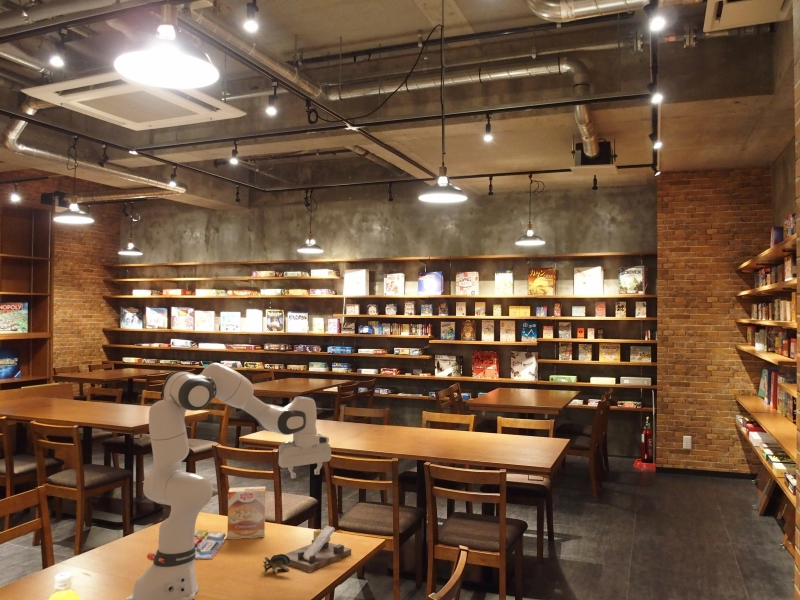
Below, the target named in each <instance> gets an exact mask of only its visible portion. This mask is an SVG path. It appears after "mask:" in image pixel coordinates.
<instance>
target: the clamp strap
mask: <svg viewBox="0 0 800 600" xmlns="http://www.w3.org/2000/svg"><path fill="white" fill-rule="evenodd" d="M335 530H336V529H335V527H333V526H329V525H325V526H324V528H323V529H321V533H320V534H319V535H318V537H317V538H316V539H315V541H314V542H313V543H312V542H311V543H310V544H311V546H310V547H309V548H308V549H307V551H306V552H305V553H304V554H303V556H302V559H303V560H306V561H309V556H311V555H316V554H317V553H318V552H319V550H320V549H321V548H322V546H323V545H324V544H325V542H326V541H327V540H328V539H329V537H330V538H331V536H332V535H333V533H334V532H335Z"/></svg>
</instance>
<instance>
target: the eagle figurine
mask: <svg viewBox="0 0 800 600" xmlns="http://www.w3.org/2000/svg"><path fill="white" fill-rule="evenodd" d="M262 562H263V563H264V564H263V565H262V566H263V567H264V573H265V572H266V573H267V572H268V571H269V570H271V569H272V570H273V571H274V573H275V575H277V574H278V569H277V568H280V569H282V570H285V571H287V572H290V571H289V570H290V569H289V568H288V567H286V566H287V565H288V564H289V563H290V558H289V557H288V556H286V555H284V553H280V554H275V555H272V557H271V558H268V557H267V556H264V561H263V560H262ZM288 566H289V565H288Z"/></svg>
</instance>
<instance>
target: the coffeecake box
mask: <svg viewBox="0 0 800 600" xmlns="http://www.w3.org/2000/svg"><path fill="white" fill-rule="evenodd" d="M227 498H228V499H227V531H226V532H227V539H232V540H242V539H241V538H249V539H259V538H258V537H264V538H265V532H266V530H265V529H266V527H265V526H266V486H249V487H248V486H246V487H245V486H243V487H242V486H240V487H229V489H228V496H227Z"/></svg>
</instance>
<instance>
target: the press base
mask: <svg viewBox="0 0 800 600" xmlns="http://www.w3.org/2000/svg"><path fill="white" fill-rule="evenodd" d="M314 541H315V540H314V539H312V540H311V543H310V544H307V545H305V546H303V547H300V548H297V549H295V550H292V551H290V552H286V553H285V554H284V553H283V554H284V555H286V556H288V557H289V558H290V563H289V564H288V566H291V567H294V568H297V567H298V568H297V569H300V568H301V570H303V571H306V572H309V573H311V572H314V571H316V570H318V569H320V568H322V567H325V566H327V565H330V564H332V563H335V562H337V561H339V560H341V559H344V558H346V557H348V556H350V555H352V548H350V547H346V546H345V545H344V544H340V543H339V544H335V543H332V542H330V541H329V542H327V543H325V544H324V545H323V546H322V548H321V549H320V550H319V552H318V553H317V554H316V555H311V556H309V561H306V560H303V559H302V556H303V554H304V553H305V552H306V551H307V549H308V548H309V547H310V546H311V544H312V543H313V542H314Z"/></svg>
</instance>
